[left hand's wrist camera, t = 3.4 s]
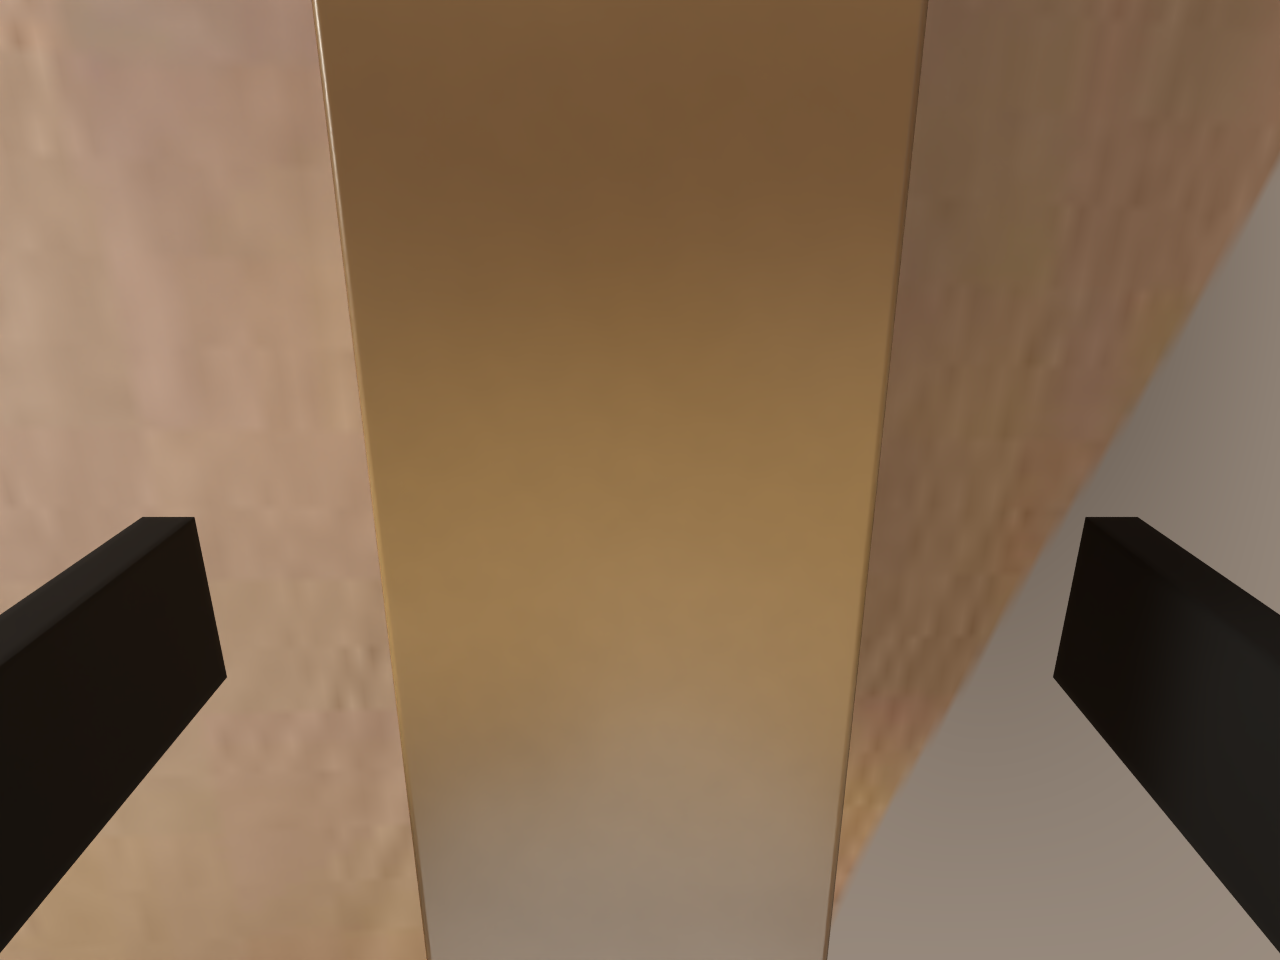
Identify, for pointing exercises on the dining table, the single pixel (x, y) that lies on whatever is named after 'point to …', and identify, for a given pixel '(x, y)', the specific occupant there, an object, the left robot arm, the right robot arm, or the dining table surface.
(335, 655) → the dining table surface
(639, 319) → the bar
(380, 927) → the dining table surface
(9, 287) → the dining table surface
